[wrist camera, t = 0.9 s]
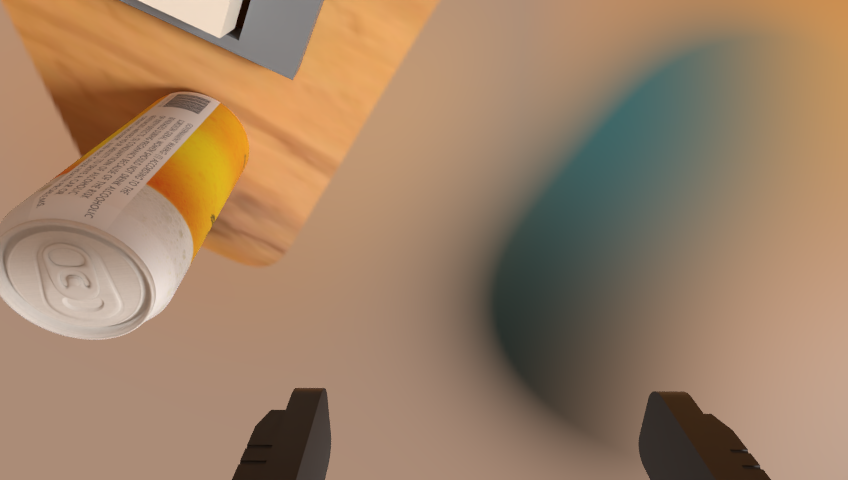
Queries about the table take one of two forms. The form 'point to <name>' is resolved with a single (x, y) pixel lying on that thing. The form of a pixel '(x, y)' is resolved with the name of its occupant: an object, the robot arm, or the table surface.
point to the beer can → (122, 220)
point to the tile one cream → (202, 13)
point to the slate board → (261, 32)
